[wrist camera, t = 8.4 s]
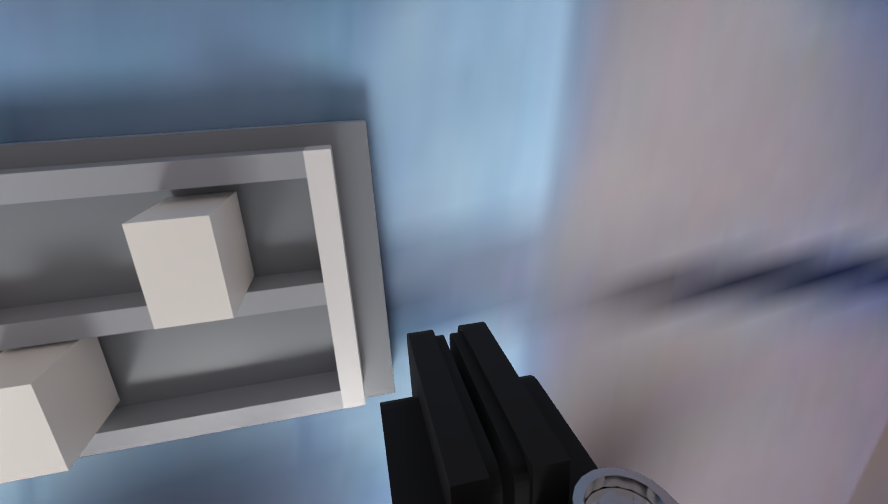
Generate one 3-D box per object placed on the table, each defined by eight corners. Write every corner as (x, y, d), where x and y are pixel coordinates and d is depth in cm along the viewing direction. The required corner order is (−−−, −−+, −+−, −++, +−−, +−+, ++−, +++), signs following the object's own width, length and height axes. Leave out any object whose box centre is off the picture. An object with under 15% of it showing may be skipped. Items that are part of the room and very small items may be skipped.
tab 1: (93, 326, 22) (31, 384, 18) (120, 400, 23) (68, 470, 19) (23, 336, 21) (-60, 398, 17) (55, 411, 23) (-14, 486, 18)
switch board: (363, 119, 24) (367, 123, 20) (391, 373, 29) (399, 413, 25) (-138, 152, 20) (-248, 165, 16) (2, 440, 25) (-56, 500, 21)
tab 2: (236, 190, 21) (208, 215, 17) (254, 275, 23) (233, 318, 18) (168, 197, 21) (121, 224, 16) (191, 283, 22) (154, 329, 18)
